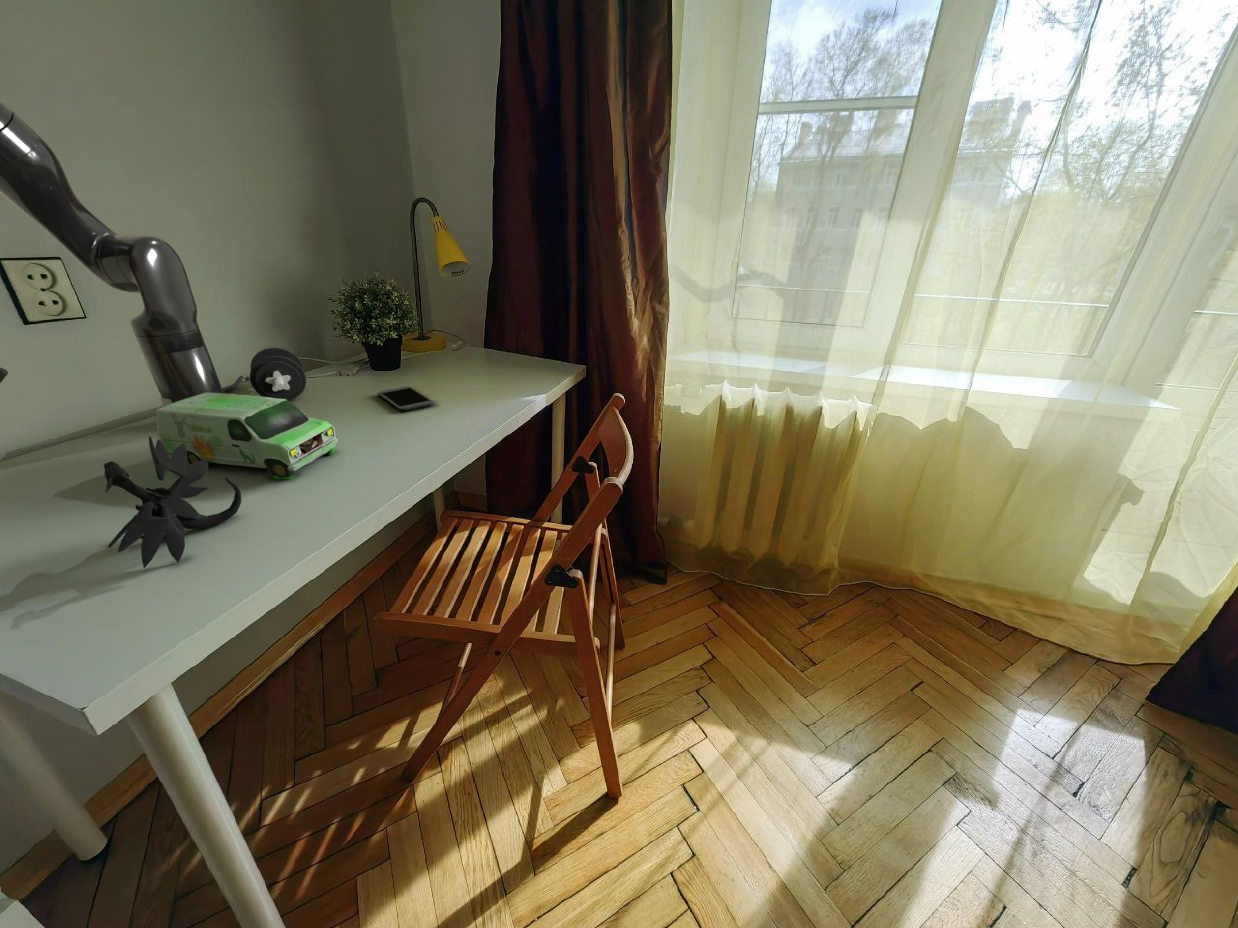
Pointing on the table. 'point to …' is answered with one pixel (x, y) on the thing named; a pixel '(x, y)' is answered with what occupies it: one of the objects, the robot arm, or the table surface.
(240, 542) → the table surface
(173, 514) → the figurine
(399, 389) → the smartphone
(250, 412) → the toy car
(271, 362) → the dumbbell
